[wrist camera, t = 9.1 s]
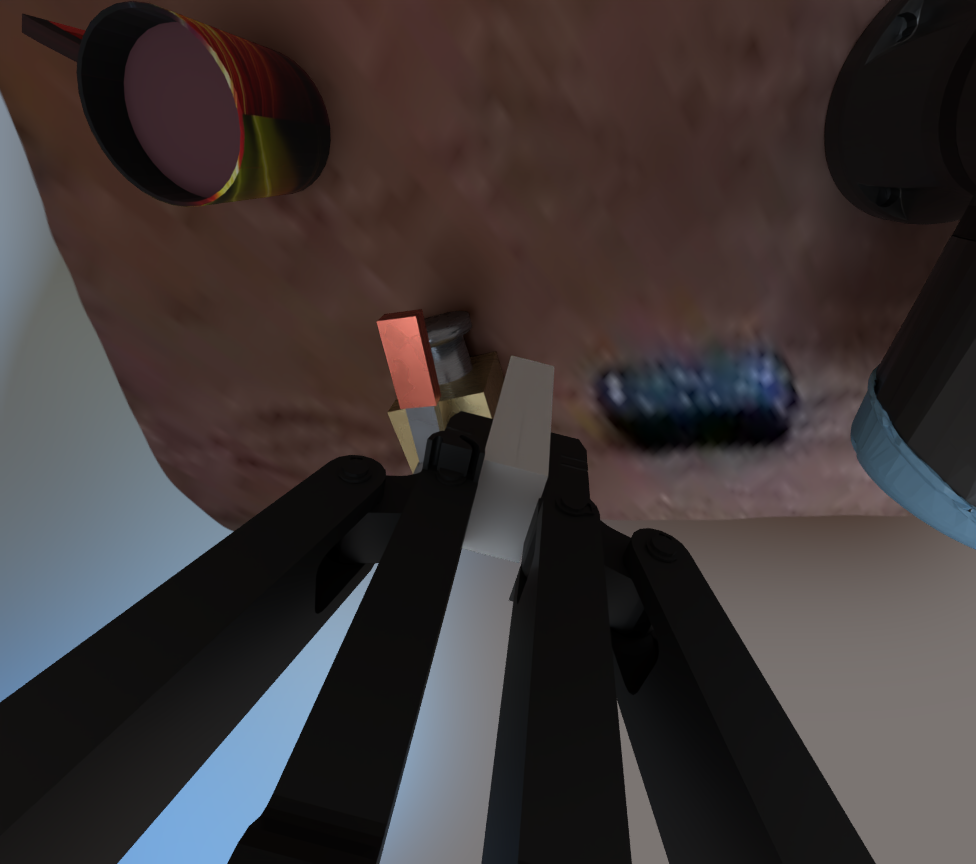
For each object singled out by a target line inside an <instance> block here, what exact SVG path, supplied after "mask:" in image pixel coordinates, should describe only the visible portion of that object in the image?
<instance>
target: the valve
mask: <svg viewBox="0 0 976 864" xmlns="http://www.w3.org/2000/svg"><path fill="white" fill-rule="evenodd" d="M424 320H425V325H426V329H427V334H428V338H429V343H430V347H431V351H432V356H433V360H434V365H435V369H436V374H437V378H438V383H439V387H440V392H441V397H440V399H439V401H438V402H439V407H440V411H441V416H442V420H443V424H444V429H446V426H447V424H448V422H449V420H450V418H451V417H452V416H453V415H455V414H457V413H458V412H460V411H464V412H468V413H472V414H476V415H480V416H484V417H487V418H491V419H494V415H495V412H496V408H497V405H498V401H499V398H500V394H501V390H502V387H503V383H504V377H503V373H502V370H501V366H500V363H499V359H498V356H497V352H496V351H495V352H491V353H487V354H482V355H478V356H474V357H469V353H468V350H467V347H466V344H465V340H464V337H463V335H464V334H466V333H467V332H468V331H469V330H470V329H471V328H472V323H471V320H470V316H469V313H468V312H465V311H455V312H449V313H444V314H440V315H436V316H433V317H429V318H426V319H424ZM388 415H389V417H390V420H391V422H392V424H393V427H394V429H395V432H396V434H397V436H398V439H399V441H400V444H401V446H402V448H403V451H404V453H405V456H406V458H407V460H408V463H409V465H410V468H411V470H412V472H413V473H414V471H415V469H416V466H417V464H418V462H419V459H418V455H417V451H416V447H415V444H414V440H413V436H412V432H411V429H410V425H409V421H408V417H407V414H406V410H405V409H400V406H399V402H398V398H397V399H396V400H395V402H394V403H393V405H392V406H391V408H390V409H389V411H388Z"/></svg>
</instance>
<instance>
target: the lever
mask: <svg viewBox="0 0 976 864" xmlns="http://www.w3.org/2000/svg"><path fill="white" fill-rule="evenodd" d="M377 325H378V328H379V332H380V336H381V339H382V343H383V347H384V350H385V354H386V358H387V361H388V365H389V369H390V373H391V376H392V380H393V384H394V387H395V391H396V395H397V398H398V402H399V406H400V409H405V410H406V414H407V417H408V421H409V425H410V429H411V432H412V436H413V440H414V444H415V447H416V451H417V455H418V459H419V462H418V464H417V466H416V469H415V471H414V473H413V474H417V473H419V472H421V470H422V467H423V461H424V455H425V449H426V443H427V439H428V438H429V437H430V436H431V435H432V434H433V433H436V432H439V431H445V429H444V424H443V420H442V416H441V411H440V407H439V402H438V401H439V399H440V397H441V392H440V387H439V383H438V378H437V374H436V369H435V365H434V360H433V356H432V351H431V347H430V343H429V338H428V334H427V329H426V325H425V320H424V316H423V311H422V309H420V310H412V311H405V312H397V313H389V314H384V315H383V316H382V317H381V318H380V319H379V320H378V321H377Z"/></svg>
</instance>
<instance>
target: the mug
mask: <svg viewBox="0 0 976 864" xmlns="http://www.w3.org/2000/svg"><path fill="white" fill-rule="evenodd" d="M22 33H24V34H26V35H27V36H29V37H31V38H32V39H34V40H36V41H37V42H39V43H41V44H43V45H45V46H47V47H49V48H51V49H53V50H55V51H56V52H58V53H60V54H62V55H64V56H66V57H68V58H70V59H72V60H74V61H76V62H77V81H78V90H79V95H80V99H81V103H82V107H83V111H84V114H85V116H86V119H87V121H88V124H89V126H90V129H91V131H92V133H93V135H94V137H95V138H96V140H97V142H98V144H99V145H100V147H101V149H102V150H103V152H104V153H105V154H106V156H107V157H108V159H109V160H110V161H111V163H112V164H113V165H114V166H115V167H116V168H117V170H118V171H119V172H120V173H121V174H122V175H123V176H124V177H125V178H126V179H127V180H128V181H130V182H131V183H132V184H133V185H135V186H136V187H137V188H139V189H140V190H141V191H142V192H144V193H146V194H148V195H150V196H151V197H153V198H155V199H157V200H159V201H162V202H165V203H168V204H171V205H175V206H182V207H194V206H204V205H211V204H218V203H226V202H233V201H241V200H248V199H256V198H263V197H271V196H278V195H286V194H293V193H296V192H299V191H302V190H304V189H305V188H307V187H308V186H310V185H311V184H312V183H313V182H314V181H315V180H316V179H317V178H318V177H319V176H320V174H321V172H322V170H323V169H324V167H325V164H326V161H327V158H328V155H329V149H330V141H331V139H330V124H329V119H328V114H327V110H326V107H325V105H324V102H323V99H322V97H321V95H320V93H319V91H318V89H317V88H316V86H315V84H314V83H313V81H312V80H311V79H310V77H309V76H308V75H307V73H306V72H305V71H304V70H303V69H302V68H301V67H300V66H299V65H298V64H296V63H295V62H294V61H293V60H291V59H290V58H288V57H287V56H285V55H283V54H282V53H279V52H277V51H274V50H271V49H269V48H266V47H264V46H261V45H258V44H256V43H253V42H251V41H248V40H245V39H243V38H240V37H237V36H235V35H232V34H230V33H227V32H224V31H222V30H219V29H217V28H214V27H211V26H209V25H206V24H203V23H201V22H198V21H196V20H193V19H190V18H188V17H185V16H183V15H180V14H177V13H175V12H172V11H169V10H167V9H164V8H161V7H159V6H156V5H153V4H151V3H145V2H137V1H128V2H122V3H116V4H114V5H112V6H110V7H108V8H106V9H104V10H102V11H101V12H100V13H99V14H98V15H97V16H96V17H95V18H94V19H93V20H92V21H91V22H90V24H89V26H88V27H87V29H86V31H85V30H81V29H77V28H74V27H70V26H66V25H63V24H59V23H55V22H52V21H48V20H44V19H41V18H37V17H33V16H29V15H26V14H22Z"/></svg>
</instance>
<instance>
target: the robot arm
mask: <svg viewBox="0 0 976 864" xmlns="http://www.w3.org/2000/svg"><path fill="white" fill-rule="evenodd" d="M825 152H826V158H827V162H828V166H829V170H830V172H831V175H832V177H833V180H834V182H835V183H836V185H837V187H838V188H839V190H840V191H841V193H842V194H843V195H844V196H845V197H846V198H847V199H848V200H849V201H850V202H851V203H852V204H853V205H854V206H856V207H857V208H859V209H860V210H862V211H864V212H866V213H868V214H870V215H872V216H875V217H878V218H882V219H886V220H891V221H897V222H903V223H909V224H937V223H946V222H952V221H957V220H960V222H959V224H958V226H957V227H956V229H955V231H954V233H953V235H951V237H950V239H949V241H948V242H947V244H946V246H945V248H944V250H943V252H942V254H941V255H940V257H939V259H938V261H937V263H936V265H935V266H934V268H933V270H932V272H931V274H930V276H929V278H928V279H927V281H926V283H925V285H924V287H923V289H922V290H921V292H920V294H919V296H918V298H917V299H916V301H915V303H914V305H913V307H912V308H911V310H910V312H909V314H908V315H907V317H906V319H905V321H904V323H903V324H902V326H901V328H900V330H899V331H898V333H897V335H896V337H895V339H894V340H893V342H892V344H891V346H890V347H889V349H888V351H887V353H886V355H885V356H884V358H883V360H882V362H881V363H880V364H879V365H878V366H877V368H875V369H874V370H873V372H872V373H871V375H870V378H869V381H868V391H867V393H866V395H865V397H864V399H863V401H862V404H861V406H860V408H859V410H858V412H857V414H856V416H855V418H854V420H853V423H852V427H851V442H852V445H853V448H854V450H855V452H856V453H857V459H858V461H859V463H860V464H861V466H862V467H863V469H864V470H865V471H866V473H867V474H868V475H869V477H870V478H871V479H872V480H873V481H874V482H875V483H876V484H877V485H878V486H879V487H880V488H881V489H882V490H883V491H884V492H885V493H886V494H887V495H888V496H890V497H891V498H892V499H893V500H894V501H896V502H897V503H898V504H900V505H901V506H902V507H903V508H905V509H906V510H907V511H909V512H910V513H912V514H913V515H914V516H916V517H917V518H919V519H920V520H922V521H924V522H925V523H926V524H928V525H930V526H931V527H933V528H934V529H936V530H938V531H940V532H941V533H943V534H945V535H947V536H948V537H950V538H952V539H954V540H956V541H958V542H960V543H963V544H964V545H967V546H969V547H971V548H973V549H975V550H976V0H891V1H890V2H889V3H888V4H887V5H886V6H885V7H884V8H883V9H882V10H881V11H880V12H879V13H878V15H877V16H876V17H875V18H874V19H873V21H872V22H871V23H870V24H869V26H868V27H867V28H866V30H865V31H864V32H863V34H862V35H861V37H860V38H859V40H858V41H857V42H856V44H855V46H854V47H853V49H852V51H851V52H850V54H849V56H848V58H847V60H846V61H845V63H844V65H843V68H842V70H841V72H840V74H839V76H838V79H837V81H836V84H835V87H834V89H833V92H832V95H831V99H830V103H829V107H828V112H827V117H826V124H825ZM553 381H554V366H551V365H547V364H543V363H539V362H535V361H531V360H527V359H523V358H519V357H515V356H511V358H510V362H509V365H508V369H507V372H506V376H505V380H504V383H503V387H502V390H501V394H500V398H499V401H498V405H497V408H496V412H495V415H494V419H491V418H487V417H484V416H480V415H476V414H472V413H468V412H464V411H460V412H458V413H457V414H455V415H453V416H452V417H451V418H450V420H449V422H448V424H447V426H446V429H445V431H439V432H436V433H433V434H432V435H431V436H430V437H429V438H428V439H427V443H426V449H425V455H424V461H423V467H422V470H421V472H419V473H417V474H413V475H408V476H387V475H386V471H385V469H384V468H383V466H382V465H381V464H380V463H379V462H377V461H375V460H374V459H372V458H368V457H365V456H359V455H348V456H342V457H338V458H336V459H334V460H332V461H330V462H328V463H327V464H326V465H324V466H323V467H322V468H320V469H319V470H317V471H316V472H315V473H313V474H312V475H311V476H309V477H308V478H307V479H305V480H304V481H302V482H301V483H300V484H298V485H297V486H296V487H294V488H293V489H292V490H290V491H289V492H287V493H286V494H285V495H283V496H282V497H281V498H279V499H278V500H276V501H275V502H274V503H272V504H271V505H270V506H268V507H267V508H266V509H264V510H263V511H261V512H260V513H259V514H257V515H256V516H255V517H253V518H252V519H250V520H249V521H248V522H246V523H245V524H244V525H242V526H241V527H240V528H238V529H237V530H235V531H234V532H233V533H231V534H230V535H229V536H227V537H226V538H225V539H223V540H222V541H220V542H219V543H218V544H217V545H215V546H214V547H212V548H211V549H209V550H208V551H207V552H205V553H204V554H203V555H201V556H200V557H199V558H197V559H196V560H194V561H193V562H192V563H190V564H189V565H188V566H186V567H185V568H184V569H182V570H181V571H179V572H178V573H177V574H175V575H174V576H173V577H171V578H170V579H168V580H167V581H166V582H164V583H163V584H162V585H160V586H159V587H158V588H156V589H155V590H153V591H152V592H151V593H149V594H148V595H147V596H145V597H144V598H143V599H141V600H140V601H138V602H137V603H136V604H134V605H133V606H131V607H130V608H129V609H127V610H126V611H125V612H124V613H122V614H121V615H119V616H118V617H116V618H115V619H114V620H112V621H111V622H110V623H108V624H107V625H105V626H104V627H103V628H101V629H100V630H99V631H97V632H96V633H95V634H93V635H92V636H90V637H89V638H88V639H87V640H85V641H84V642H82V643H81V644H80V645H78V646H77V647H75V648H74V649H73V650H71V651H70V652H69V653H67V654H66V655H64V656H63V657H62V658H60V659H59V660H58V661H56V662H55V663H54V664H52V665H51V666H49V667H48V668H47V669H45V670H44V671H43V672H41V673H40V674H39V675H37V676H36V677H34V678H33V679H32V680H30V681H29V682H28V683H26V684H25V685H23V686H22V687H21V688H19V689H18V690H17V691H15V692H14V693H13V694H11V695H10V696H9V697H7V698H6V699H4V700H3V701H2V702H0V864H117V863H118V862H119V861H120V860H121V859H122V857H123V856H124V855H125V854H126V853H127V852H128V850H129V849H130V848H131V847H132V846H133V845H134V843H135V842H136V841H137V840H138V839H139V837H140V836H141V835H142V834H143V833H144V832H145V831H146V830H147V828H148V827H149V826H150V825H151V824H152V823H153V821H154V820H155V819H156V818H157V817H158V816H159V815H160V813H161V812H162V811H163V810H164V809H165V808H166V807H167V805H168V804H169V803H170V802H171V801H172V800H173V798H174V797H175V796H176V795H177V794H178V792H179V791H180V790H181V789H182V788H183V787H184V786H185V784H186V783H187V782H188V781H189V780H190V779H191V778H192V776H193V775H194V774H195V773H196V772H197V771H198V770H199V768H200V767H201V766H202V765H203V764H204V763H205V761H206V760H207V759H208V758H209V757H210V756H211V754H212V753H213V752H214V751H215V750H216V749H217V748H218V746H219V745H220V744H221V743H222V742H223V741H224V739H225V738H226V737H227V736H228V735H229V734H230V733H231V731H232V730H233V729H234V728H235V727H236V726H237V724H238V723H239V722H240V721H241V720H242V719H243V718H244V716H245V715H246V714H247V713H248V712H249V711H250V709H251V708H252V707H253V706H254V705H255V704H256V702H257V701H258V700H259V699H260V698H261V697H262V695H263V694H264V693H265V692H266V691H267V690H268V689H269V687H270V686H271V685H272V684H273V683H274V682H275V680H276V679H277V678H278V677H279V676H280V674H282V672H283V671H284V670H285V669H286V668H287V667H288V666H289V664H290V663H291V662H292V661H293V660H294V659H295V657H296V656H297V655H298V654H299V653H300V652H301V650H302V649H303V648H304V647H305V646H306V644H308V642H309V641H310V640H311V639H312V638H313V637H314V635H315V634H316V633H317V632H318V631H319V630H320V629H321V627H322V626H323V625H324V624H325V623H326V621H327V620H328V619H329V618H330V617H331V616H332V615H333V614H334V612H335V611H336V610H337V609H338V608H339V607H340V605H341V604H342V603H343V602H344V601H345V600H346V598H347V597H348V596H349V595H350V594H351V593H352V591H353V590H354V589H355V588H356V587H357V586H358V584H359V583H360V582H361V581H362V580H363V579H364V578H365V576H366V575H367V574H368V573H369V572H370V571H371V569H372V567H373V566H374V564H375V563H379V564H378V566H377V569H376V570H375V573H374V575H373V577H372V579H371V581H370V584H369V586H368V588H367V590H366V592H365V595H364V597H363V599H362V601H361V603H360V605H359V608H358V610H357V612H356V614H355V616H354V619H353V621H352V623H351V625H350V627H349V629H348V631H347V634H346V636H345V638H344V640H343V642H342V645H341V647H340V649H339V651H338V653H337V655H336V658H335V660H334V662H333V664H332V667H331V669H330V671H329V673H328V675H327V677H326V679H325V682H324V684H323V686H322V688H321V690H320V693H319V695H318V697H317V699H316V701H315V703H314V706H313V708H312V710H311V712H310V714H309V716H308V719H307V721H306V723H305V725H304V727H303V730H302V732H301V734H300V736H299V738H298V741H297V743H296V745H295V747H294V749H293V752H292V754H291V756H290V758H289V760H288V762H287V765H286V766H285V769H284V771H283V773H282V775H281V778H280V780H279V782H278V784H277V786H276V788H275V790H274V793H273V795H272V797H271V799H270V801H269V803H268V805H267V807H266V808H265V810H264V811H263V813H262V814H261V816H260V817H259V818H258V819H257V820H255V822H253V823H252V824H251V825H250V826H249V827H248V829H247V830H246V832H245V833H244V835H243V836H242V838H241V839H240V841H239V842H238V844H237V846H236V848H235V850H234V852H233V854H232V856H231V858H230V859H229V861H228V863H227V864H379V863H380V859H381V855H382V851H383V848H384V844H385V840H386V836H387V832H388V829H389V825H390V821H391V817H392V813H393V809H394V806H395V802H396V798H397V794H398V790H399V787H400V783H401V779H402V775H403V771H404V768H405V764H406V760H407V756H408V752H409V748H410V744H411V741H412V737H413V733H414V730H415V725H416V722H417V718H418V714H419V710H420V706H421V703H422V699H423V695H424V691H425V688H426V684H427V680H428V676H429V672H430V668H431V664H432V661H433V657H434V653H435V649H436V646H437V642H438V638H439V634H440V630H441V627H442V623H443V619H444V615H445V611H446V608H447V604H448V600H449V596H450V592H451V589H452V585H453V581H454V577H455V573H456V570H457V566H458V562H459V558H460V553H461V550H462V549H466V550H470V551H474V552H478V553H482V554H485V555H489V556H493V557H497V558H501V559H505V560H509V561H513V562H517V563H519V561H520V558H521V555H522V563H521V566H520V569H519V572H518V575H517V578H516V581H515V584H514V587H513V590H512V593H511V595H510V598H509V600H510V601H513V610H512V617H511V626H510V635H509V642H508V650H507V658H506V667H505V675H504V684H503V692H502V700H501V708H500V716H499V724H498V732H497V741H496V749H495V757H494V765H493V774H492V782H491V790H490V798H489V807H488V815H487V823H486V831H485V839H484V848H483V856H482V864H632V861H631V851H630V839H629V828H628V817H627V806H626V797H625V785H624V774H623V763H622V752H621V741H620V730H619V719H618V709H617V701H618V704H619V707H620V710H621V713H622V717H623V720H624V723H625V726H626V729H627V732H628V736H629V739H630V742H631V745H632V748H633V751H634V754H635V757H636V760H637V764H638V767H639V770H640V773H641V776H642V779H643V783H644V786H645V789H646V792H647V795H648V798H649V801H650V804H651V807H652V811H653V814H654V817H655V820H656V823H657V826H658V829H659V832H660V836H661V839H662V842H663V845H664V848H665V851H666V855H667V858H668V861H669V864H876V863H875V862H874V860H873V858H872V857H871V855H870V853H869V852H868V850H867V848H866V847H865V845H864V843H863V842H862V840H861V838H860V837H859V835H858V833H857V832H856V830H855V828H854V827H853V825H852V823H851V822H850V820H849V818H848V817H847V815H846V813H845V811H844V810H843V808H842V807H841V805H840V803H839V802H838V800H837V798H836V796H835V795H834V793H833V791H832V790H831V788H830V786H829V785H828V783H827V781H826V780H825V778H824V776H823V775H822V773H821V771H820V770H819V768H818V766H817V765H816V763H815V761H814V760H813V758H812V756H811V755H810V753H809V752H808V750H807V748H806V747H805V745H804V743H803V741H802V740H801V738H800V736H799V735H798V733H797V731H796V730H795V728H794V727H793V725H792V723H791V721H790V720H789V718H788V717H787V715H786V713H785V712H784V710H783V708H782V706H781V705H780V703H779V701H778V700H777V698H776V696H775V695H774V693H773V691H772V690H771V688H770V686H769V685H768V683H767V681H766V680H765V678H764V676H763V675H762V673H761V671H760V670H759V668H758V666H757V665H756V663H755V661H754V660H753V658H752V657H751V655H750V653H749V651H748V650H747V648H746V646H745V645H744V643H743V642H742V640H741V638H740V636H739V635H738V633H737V631H736V630H735V628H734V626H733V625H732V623H731V622H730V620H729V618H728V616H727V615H726V613H725V612H724V610H723V608H722V606H721V605H720V603H719V602H718V600H717V598H716V596H715V595H714V593H713V591H712V590H711V588H710V586H709V585H708V583H707V581H706V580H705V578H704V577H703V575H702V573H701V571H700V570H699V568H698V566H697V565H696V563H695V562H694V560H693V558H692V556H691V555H690V553H689V552H688V550H687V549H686V548H685V547H684V546H683V544H682V543H680V542H679V541H678V540H676V539H675V538H674V537H673V536H671V535H668V534H666V533H664V532H662V531H659V530H655V529H650V528H646V529H639V530H637V531H636V532H634V533H633V535H632V537H631V538H630V537H628V536H626V535H624V534H622V533H620V532H618V531H616V530H614V529H612V528H611V527H609V526H607V525H606V524H605V523H603V522H602V521H601V520H600V514H599V511H598V508H597V506H596V505H595V504H594V503H593V502H592V501H591V499H590V492H589V478H588V472H587V471H588V465H587V451H586V449H585V448H584V446H583V445H582V443H581V442H580V440H579V439H575V438H571V437H567V436H563V435H559V434H555V433H552V432H551V417H552V399H553ZM522 552H523V554H522Z"/></svg>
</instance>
